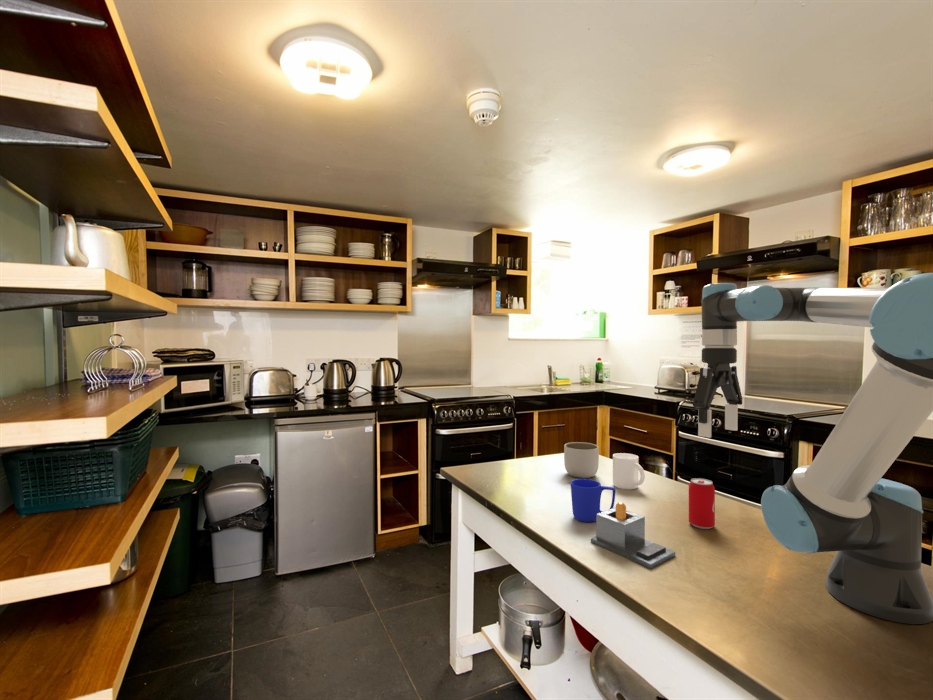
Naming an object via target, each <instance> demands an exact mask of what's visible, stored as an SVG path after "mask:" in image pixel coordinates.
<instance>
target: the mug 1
mask: <svg viewBox="0 0 933 700" xmlns="http://www.w3.org/2000/svg"><path fill="white" fill-rule="evenodd" d="M605 490H607V491H612V496H611V497H612V498H611V503H610V507H609V509H612V508H615V502H616V487H613V486H606V485H602V484H601V483H600V481H597V480H594V479H589V478H576V479H575V478H574V479H572V480H570V495H571V507H572V508H571V509H572V515H573V518H574V519H575V520H577V521H579V522H582V523H591V522H595V521H596V514H598V513H601V512H604V511H602V510H601V497H602V493H603V491H605Z"/></svg>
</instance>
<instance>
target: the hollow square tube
mask: <svg viewBox="0 0 933 700" xmlns="http://www.w3.org/2000/svg"><path fill="white" fill-rule="evenodd" d="M595 521H596V524H595V525H596V528H595V529H596V530H595V532H596V533H595V535H596V538H597V539H599V540H601V541H604V542H606V543H608V544H611V545H613V546H615V547H618V548H620V549H622V550H624V551H625V550H627V549H629V548H632V547H634V546H636V545H638V544H640V543H642V542H645V540H646V535H645V531H646V530H645V529H646V528H645V527H646V526H645V525H646V523H645V522H646V517H645V516H643V515H640V514H638V513H635V512H632V511H629V510H626V520H624V521H622V520H619V519H616V506H614V507H613V508H612V509H610V508H609V509H607V510H604V511H603V512H601V513H598V514H596V520H595Z"/></svg>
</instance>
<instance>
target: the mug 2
mask: <svg viewBox="0 0 933 700" xmlns="http://www.w3.org/2000/svg"><path fill="white" fill-rule="evenodd" d="M639 474H640V475H639ZM639 476H640V477H639ZM645 479H646V474H645V470H644V468H643V467H642V466H641V465H640V464H639V456H638V455H636V454H633V453H625V452H623V453H622V452H620V453H618V452H617V453H613V454H612V485H613V486H614V488H618V489H620V490H629V491H631V490H635V489H637V488H638V487H639V486H642V485H643V484H644V482H645Z"/></svg>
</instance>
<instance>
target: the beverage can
mask: <svg viewBox="0 0 933 700" xmlns="http://www.w3.org/2000/svg"><path fill="white" fill-rule="evenodd" d="M688 522H689V524H690V525H692V526H693V527H695V528H698V529H702V530H710V529H712V528H714V527H715V525H716V488H715V486H714V484H713V481H712V480H710V479H706V478H703V477H702V478H701V477H699V478H698V477H697V478H696V477H695V478H694V477H693V478H691V479H690V482H689V484H688Z"/></svg>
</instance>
